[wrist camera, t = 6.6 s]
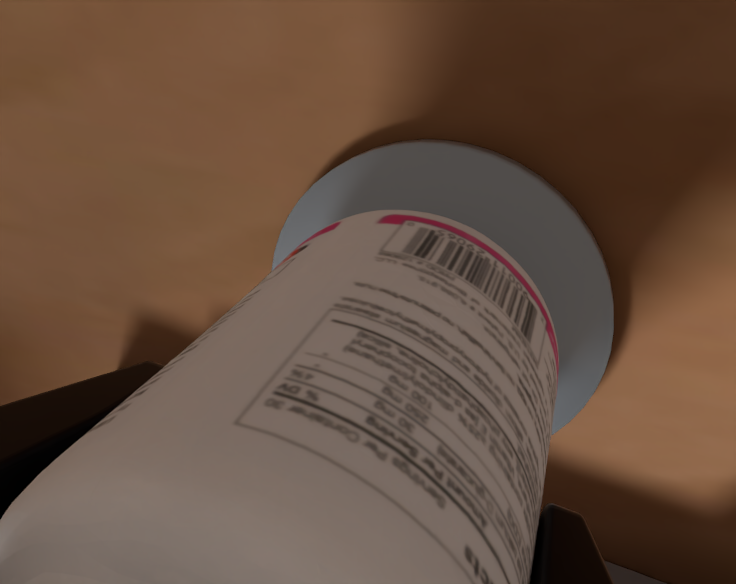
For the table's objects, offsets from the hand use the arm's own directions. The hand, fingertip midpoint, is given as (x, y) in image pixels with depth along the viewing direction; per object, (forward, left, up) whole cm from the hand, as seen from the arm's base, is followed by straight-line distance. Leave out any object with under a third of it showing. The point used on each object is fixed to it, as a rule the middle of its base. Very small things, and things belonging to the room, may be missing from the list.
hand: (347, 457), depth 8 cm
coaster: (0, 0, -4) cm, 4 cm away
